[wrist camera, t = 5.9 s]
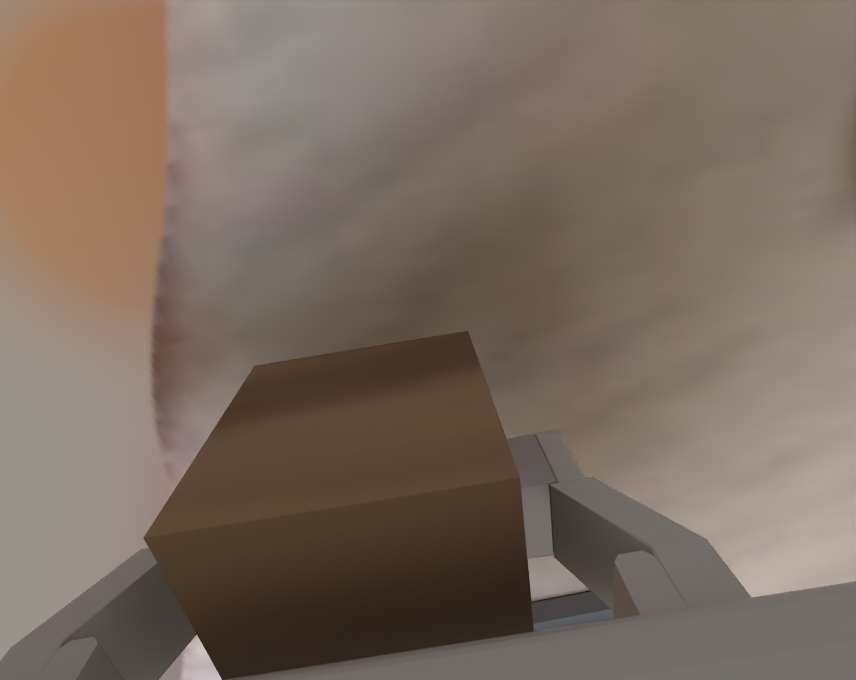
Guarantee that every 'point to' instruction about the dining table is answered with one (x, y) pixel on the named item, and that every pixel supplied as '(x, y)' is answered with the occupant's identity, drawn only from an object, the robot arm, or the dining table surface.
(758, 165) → the dining table surface
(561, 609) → the tower base
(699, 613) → the robot arm
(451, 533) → the brick
